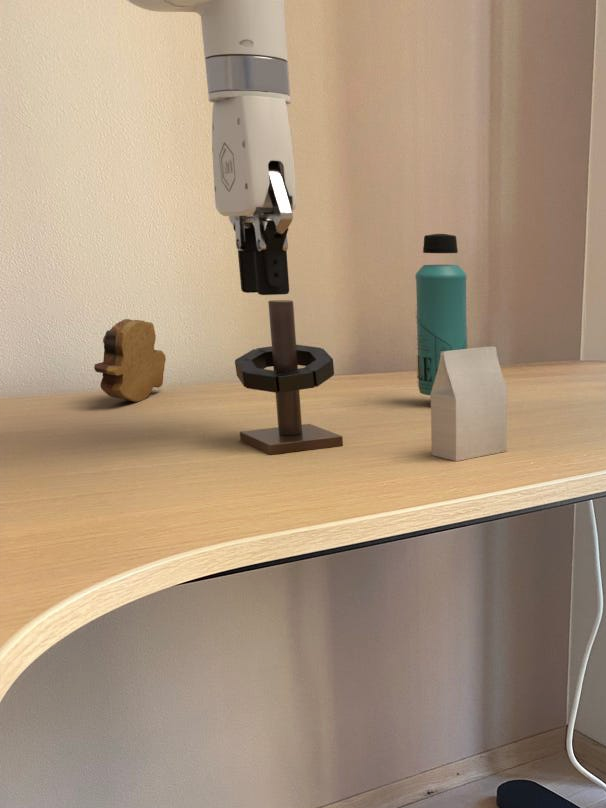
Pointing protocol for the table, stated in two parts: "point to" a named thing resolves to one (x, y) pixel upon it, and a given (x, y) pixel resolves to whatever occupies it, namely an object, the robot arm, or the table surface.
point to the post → (287, 395)
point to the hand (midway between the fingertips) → (265, 291)
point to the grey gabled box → (468, 405)
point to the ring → (262, 379)
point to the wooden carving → (131, 361)
